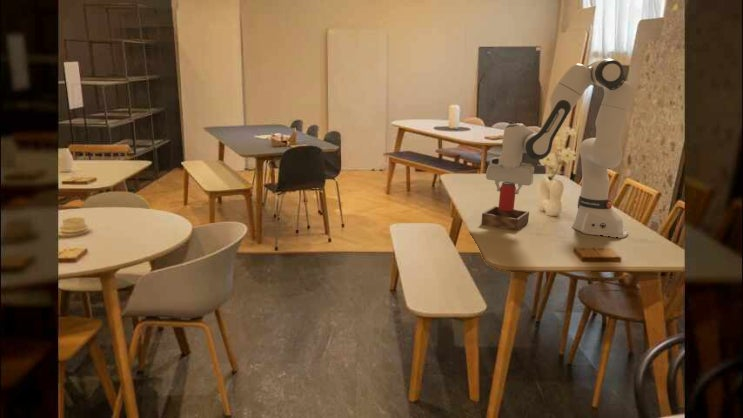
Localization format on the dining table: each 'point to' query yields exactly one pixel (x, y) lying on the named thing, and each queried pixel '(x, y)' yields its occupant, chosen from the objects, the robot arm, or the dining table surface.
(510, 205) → the beer can
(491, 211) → the walnut box
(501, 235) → the dining table surface
